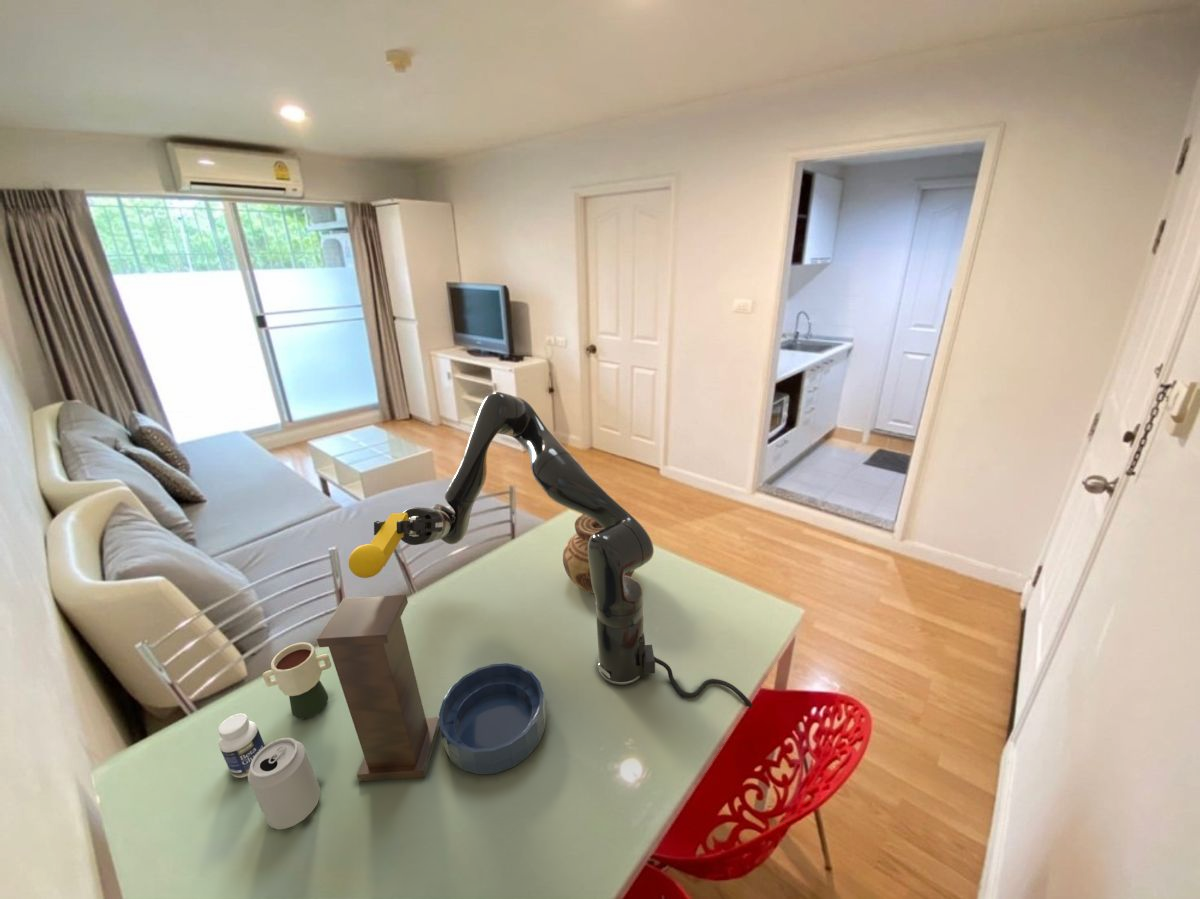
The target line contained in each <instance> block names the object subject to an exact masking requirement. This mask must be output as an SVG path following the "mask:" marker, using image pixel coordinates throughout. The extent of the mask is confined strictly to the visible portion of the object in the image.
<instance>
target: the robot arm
mask: <svg viewBox="0 0 1200 899" xmlns="http://www.w3.org/2000/svg"><path fill="white" fill-rule="evenodd" d="M498 434H499V435H503V436H508V437H511V438H513V439H514V440H515V441H516V442H518V444H520V445H521V447H523V449H525V451H526V452H527V454H528V456H529V465H530V470H531V474H532V476H533V478H534V480H535V481H536V482H537V484H538V485H539V486H540V487H541V489H542V490H543V491H544V492H545V493H546V495H547V496H548V497H549V498H550V499H551V500H552V501H553V502H555V503H557V504H558V505H560V506H562V507H564V508H567V509H570V510H572V511H574V512H577V513H580V514H581V515H582V514H584V515H587V516H589V517H591V518H592V519H594V520H595V521H597V522H598V523H599V524H600V525H601V526H602V527H603V528H604V529H603V530H600V531H598V532H596V533H594V534H593V535H592V536H591V537H590V539H589V542H588V560H589V567H590V576H591V584H592V588H593V591H594V593H593V594H594V597H595V598H594V599H595V613H596V630H597V632H596V634H597V652H598V664H597V669H598V671H599V674H600V676H601V677H602V678H603V679H604V680H605V681H606V682H608V683H610V684H611V685H616V686H627V685H631V684H633V683H635V682H637V681H638V680H639V679H641V678H645V677H646V675H647V674H650V675H651V674H656V664H657V665H660V666H661V667H663V668H664V670H666V673H667V675H668V679H669V681H670V683H671V684H672V686H673V688H674V690H675V691H676V692H677V693H678V695H680V696H682V697H685V698H688V699H690V698H691V699H694V698H696V697H698V696H699V695H701V694H702V692H703V691H704V690H705V689H706V687H707V686H709V685H720V686H724V687H726V688H728V689H730V690H731V691H732V692H734V693H735V695H737V696H738V697H739V698H740V700H742V701H743V702H744V703H745V705H746V706H747V707H748V708H754V704H753V703H752V702H751V700H749V698H748V697H747V696H746V695H745V694H744V693H743V692H742V691H741V690H740V689H738V687H737V686H734V685H733V684H732V683H730V682H728V681H725V680H722V679H718V678H717V679H716V678H709V679H706V680H704V682H701V684H700V686H699V687H698V688H697V689H696V690H695V691H693V692H686V691H685V690H683V689H682V688H681V687H680V685H679V684H678V682H677V680H676V678H675V677H674V674H673V671H672V668H671V667H670V665H669V664H668V663H666V661H663V660H662V659H659V658H657V657H656V656H655V654H654V649H653V644H646V639H645V638H646V636H645V632H644V590H643V586H642V584H641V583H640V582H639V581H638V580H637V579H636V578H633V577H632V576H631V577H630V576H626V575H627V574H628V573H630V572H632V571H634V572H635V570H637V569H639V568H641V567H642V566H644V565H645V564H647V563H648V562H650V561H651V560H652V559H653V557H654V544H653V541H652V539H651V537H650V535H649V533H648V531H647V530H646V529H645V528H644V527H643V525H642V524H641V523H640V522H639V521H638V520H637V519H636V518H635V517H634V516H633V515H632V514H631V513H629V512H628V511H627V510H626V509H625V508H624V507H623V506H621V505H620V504H619V503H618V502H617V501H616V500H615V499H613V497H611V495H609V494H608V493H607V492H606V490H604V488H602V486H600V484H598V483H597V481H596V480H595V479H594V478H593V477H592V476H591V475H590V474H589V473H588V472H587V470H586V468H584V467H583V466H582V464H581V463H580V462H579V461H578V460H577V459H576V458H575V457H574V455H573V454H572V453H571V452H570V451H569V450H568V449H567V448H566V447H565V446H564V445H563V444H562V442H560V440H558V439H557V437H556V436H555V435H554V434H553V433H552V432H551V431H550V430H549V429H548V428H547V426H546V425H545V424H544V422H543V420H541V418H540V416H539V415H538V414H537V411H535V409H534V408H533V407H532V404H530V403H529V402H528V401H527V400H526V399H523V398H522V397H519V396H515V395H512V394H508V393H504V392H501V391H494V392H491V393H490V394H488V395H487V396H486V397H485V398H484V400H483V402H482V403H481V405H480V407H479V409H478V412H477V415H476V418H475V421H474V424H473V427H472V430H471V433H470V436H469V438H468V441H467V445H466V448H465V451H464V454H463V458H462V460H461V461H460V464H459V466H458V469H457V470H456V471H455V474H454V476H453V478H452V480H451V481H450V483H449V485H448V487H447V489H446V491H445V494H444V499H445V502H446V503H447V504H448V505H449V506H450V508H452V509H450V508H449V507H447V506H445V505H444V504H441V503H436V504H434V505H432V506H431V507H418V506H417V507H416V506H415V507H411V508H408V509H406V510H404V511H403V512H402V513H407V514H408V519H409V520H407V521H397V533H398V534H402V533H404V535H403V537H402V538H401V540H400V541H402V542H404V543H405V544H407V545H411V546H419V545H424V544H429V543H433V542H435V541H439V540H441V541H443V542H444V543H446V544H448V545H455V544H457V543H459V542H461V541H462V540H463V539H464V538H465V536H466V534H467V532H468V527H469V524H470V518H471V513H472V510H473V508H474V505H475V502H476V500H477V499H478V497H479V495H480V494H481V491H482V489H483V488H484V485H485V483H486V479H487V475H488V473H487V472H488V466H487V465H488V464H487V463H488V462H487V459H488V458H487V457H488V450H489V448H490V446H491V443H492V442H493V441H494V438H495V437H496V436H497V435H498ZM385 522H386V520H384V521H380V520H376V521H374V522H373V536H376V534H377V533H378V532H379V530H380V529H381V527H382V526H383V524H384V523H385Z"/></svg>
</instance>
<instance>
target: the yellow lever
mask: <svg viewBox="0 0 1200 899" xmlns="http://www.w3.org/2000/svg"><path fill="white" fill-rule="evenodd" d="M407 520H409V519H408V514H407V513H403V512H396V513H395V512H394V513H390V514H389V516H388V517H387V519H386V520H385V521H386V522H385V523H384V524H383V526H382V527H381V529H380V530H379V532H378V533H377V534H376V535H374V537H373V538H372V540H371V542H370V543H365V544H361V545H359V546H357V547H356V548H354V549H353V550H352V551H351V553H350V554H349V557H348V568H349V570H350V572H351V573H352V574H353V575H354V576H356V577H358V578H362V579H369V578H372V577H375V576H377V575H378V574H379V573H381V571H382V570H383V568H384V567H386V565H387V563H388V562H389V560H390V559H391V557H392V555H393V553H394V552H395V550H396V548H397V547H398V545H399V544H400V542H401V541H402V540H401V538H402V537H403V535H404V533H402V534H398V533H397V521H407Z"/></svg>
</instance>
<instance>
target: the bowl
mask: <svg viewBox="0 0 1200 899" xmlns="http://www.w3.org/2000/svg"><path fill="white" fill-rule="evenodd" d="M438 718H439V722H440V727H439V731H440V733H441V738H442V742H443V747H444V750H445V752H446V754H447V756H448V757H449V760H450V761H451V762H452V763H453V764H454V765H456V766H457V767H458V768H459V769H461V770H462V771H465V772H468V773H472V774H475V775H490V774H492V775H493V774H498V773H500V772H503V771H505V770H508V769H511V768H514V767H515V766H517V765H519V763H521V762H523V761H524V760H525V759H527V758H528V757H529V756H530V755H531V753H532V752H533V751H534V750H535V749H536V747H537V746H538V745H539V743H540V742H541V740H542V736H543V734H544V732H545V730H546V719H547V711H546V703H545V693H544V690H543V687H542V683H541V681H540V680H539V679H538V677H536V675H535V674H534V673H533V672H532V671H531V670H529V669H527V668H525V667H523V666H522V665H518V664H514V663H508V662H507V663H506V662H504V663H492V664H488V665H485V666H482V667H477V668H476V669H474V670H472V671H471V672H469V673H467V674H465V675H463V676H462V677H461V678H460V679H459V680H458V681H457V682H455V683H454V684H453V685H452V686H451V687H450V689H449V690H448V692H447V693H446V695H445V696H444V698H443V700H442V702H441V706H440V709H439V712H438Z"/></svg>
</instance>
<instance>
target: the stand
mask: <svg viewBox="0 0 1200 899" xmlns="http://www.w3.org/2000/svg"><path fill="white" fill-rule="evenodd" d="M408 604H409V601H408V597H407V594H396V595H395V594H392V595H377V596H359V597H344V598H343V599H342V600H341V602H340V603H339V605H338V606H337V608H336V609H335V611H334V612H333V614H332V615H331V617H330V618H329V620H328V621H327V623H326V624H325V625H324V627H323V629H322V630H321V631H320V633H319V634H318V636H317V638H316V642H317V645H318V647H319V648H328V651H329V653H330V656H331V659H332V661H333V662H332V663H333V665H334V668H335V671H336V674H337V678H338V681H339V683H340V686H341V690H342V694H343V695H344V698H345V702H346V705H347V707H348V712H349V714H350V717H351V720H352V723H353V725H354V730H355V732H356V735H357V736H356V737H357V739H358V742H359V744H360V748H361V751H362V753H363V759H362V762H361V765H360V767H359V768H358V772H357V773H356V777H357V780H358V782H367V781H368V782H369V781H382V780H383V781H384V780H396V779H397V780H398V779H414V778H426V774H427V772H428V768H429V765H430V761H431V758H432V754H433V751H434V748H435V744H436V741H437V738H438V734H439V731H440V722H439V717H427V718H426V714H425V710H424V705H423V702H422V698H421V694H420V689H419V684H418V682H417V677H416V674H415V669H414V665H413V661H412V657H411V653H410V649H409V646H408V645H409V644H408V641H407V637H406V633H405V628H404V625H403V621H402V616H403V613H404V612H405V610H406V608H407V605H408Z"/></svg>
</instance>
